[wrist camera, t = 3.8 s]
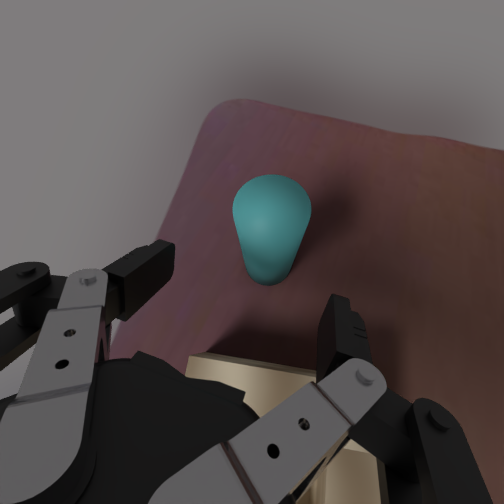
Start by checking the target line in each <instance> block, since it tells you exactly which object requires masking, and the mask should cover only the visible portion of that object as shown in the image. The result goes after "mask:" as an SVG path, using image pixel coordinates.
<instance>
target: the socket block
mask: <svg viewBox="0 0 504 504" xmlns="http://www.w3.org/2000/svg"><path fill="white" fill-rule="evenodd" d="M185 376H186V377H189V378H197V379H205V380H213V381H219V382H222V383H224V384H227V385H229V386H232V387H235V388H237V389H240V390H243V391H245V392H246V393H245V397H244V400H243V402H245V403H246V404H247V405H249V406H250V407H251V408H252V409H253V410H254V411H255V412H256V413H257V415H258V416H259V417H260V418H261V417H262V416H264V415H265V414H266V413H268V412H269V411H270V410H272V409H273V408H275V407H276V406H277V405H279V404H280V403H281V402H283V401H284V400H285V399H287V398H288V397H290V396H291V395H292V394H294V393H295V392H296V391H298V390H299V389H300V388H302V387H303V386H305V385H306V384H307V383H309V382H311V381H314V382H315V383H316V371H315V370H309V369H303V368H297V367H291V366H285V365H280V364H274V363H268V362H262V361H256V360H250V359H244V358H238V357H232V356H226V355H220V354H215V353H209V352H203V353H198V354H194V355H189V359H188V364H187V369H186V373H185ZM296 504H381V499H380V490H379V480H378V471H377V461H376V457H375V456H373V455H372V454H371V453H369V452H368V451H367V450H365V449H364V448H363V447H361V446H360V445H359V444H357V443H356V442H355V441H353V440H352V439H351V440H350V441H349V442H348V444H347V445H346V446H345V447H344V448H343V449H342V450H341V451H340V453H339V454H338V455H337V456H336V457H335V458H334V459H333V461H332V462H331V463H330V464H329V465H328V466H327V467H326V468H325V470H324V471H323V472H322V473H321V474H320V475H319V477H318V478H317V479H316V481H315V482H314V483H313V484H312V486H311V487H310V488H309V489H308V491H307V492H306V493H305V494H304V495H303V496H302V498H301V499H300V500H299V501H298V502H297V503H296Z"/></svg>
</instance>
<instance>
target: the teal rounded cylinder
mask: <svg viewBox="0 0 504 504" xmlns="http://www.w3.org/2000/svg"><path fill="white" fill-rule="evenodd" d="M310 216H311V203H310V199H309V197H308V195H307V193H306V191H305V190H304V189H303V188H302V187H301V186H300V185H299V184H298V183H297V182H295V181H294V180H292V179H290V178H288V177H285V176H281V175H263V176H259V177H256V178H254V179H252V180H250V181H248V182H247V183H246V184H244V185H243V186H242V187H241V189H240V190H239V191H238V193H237V194H236V197H235V199H234V202H233V217H234V221H235V225H236V229H237V233H238V237H239V241H240V245H241V250H242V254H243V258H244V262H245V266H246V270H247V272H248V274H249V276H250V277H251V278H252V279H253V280H254V281H255V282H257V283H259V284H261V285H267V286H270V285H275V284H278V283H280V282H282V281H283V280H284V279H285V278H286V277H287V276H288V274H289V272H290V269H291V267H292V264H293V261H294V259H295V256H296V254H297V251H298V249H299V246H300V243H301V241H302V238H303V236H304V233H305V230H306V228H307V225H308V223H309V220H310Z"/></svg>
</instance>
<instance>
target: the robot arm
mask: <svg viewBox="0 0 504 504" xmlns="http://www.w3.org/2000/svg"><path fill="white" fill-rule="evenodd" d="M174 259H175V245H174V244H173V243H170V242H167V241H164V240H161V239H159V240H157V241H155V242H154V243H152V244H151V245H149V246H147V245H146V246H143V247H139V248H136V249H134V250H133V251H131V252H129V254H126V255H125V256H123V257H122V258H120V259H118V260H116V261H115V262H113V263H111V264H110V265H108V266H106V267H105V268H103V269H102V270H99V269H83V270H79V271H76V272H74V273H72V274H71V275H69V277H65V276H56V275H50V270H49V267H48V265H46V264H44V263H41V262H24V263H19V264H16V265H13V266H10V267H8V268H6V269H4V270H2V271H0V314H1V313H2V312H4V311H6V310H7V309H9V308H11V307H12V308H13V311H14V314H15V316H14V317H13V318H11V319H9V320H8V321H6V322H5V323H3V324H2V325H0V371H1V370H3V369H4V368H5V367H6V366H8V365H9V364H10V363H12V362H13V361H14V360H15V359H16V358H18V357H19V356H20V355H22V354H23V353H24V352H25V351H27V350H28V349H29V348H31V347H32V346H33V345H34V344H36V346H35V349H34V351H33V354H32V357H31V359H30V362H29V365H28V367H27V370H26V373H25V375H24V378H23V381H22V384H21V386H20V389H19V392H18V393H17V394H14V395H12V396H9V397H7V398H4V399H1V400H0V504H296V503H297V502H298V501H299V500H300V499H301V498H302V496H303V495H304V494H305V493H306V492H307V491H308V489H309V488H310V487H311V486H312V484H313V483H314V482H315V481H316V479H317V478H318V477H319V475H320V474H321V473H322V472H323V471H324V470H325V468H326V467H327V466H328V465H329V464H330V463H331V462H332V461H333V459H334V458H335V457H336V456H337V455H338V454H339V453H340V451H341V450H342V449H343V448H344V447H345V446H346V445H347V444H348V442H349V441H350V440H351V439H352V440H353V441H355V442H356V443H357V444H359V445H360V446H361V447H363V448H364V449H365V450H367V451H368V452H369V453H371V454H372V455H373V456H375V457H376V461H377V471H378V480H379V490H380V499H381V504H493V502H492V500H491V497H490V495H489V493H488V490H487V488H486V485H485V483H484V480H483V478H482V476H481V473H480V471H479V468H478V466H477V463H476V461H475V459H474V456H473V454H472V451H471V449H470V446H469V444H468V442H467V439H466V437H465V434H464V432H463V430H462V428H461V426H460V424H459V423H458V421H457V420H456V419H455V418H454V416H453V415H452V414H451V413H450V412H449V411H447V410H446V409H445V408H444V407H442V406H441V405H440V404H438V403H436V402H434V401H432V400H429V399H425V398H419V399H417V400H415V402H414V403H413V404H412V403H410V402H409V401H407V400H406V399H404V398H402V397H401V396H399V395H398V394H396V393H394V392H393V391H391V390H390V389H389V388H388V387H387V384H386V381H385V378H384V377H383V375H382V374H381V372H380V371H379V370H378V369H377V368H376V367H375V366H373V363H372V358H371V353H370V348H369V344H368V340H367V334H366V332H365V331H366V329H365V324H364V321H363V320H362V318H361V317H360V315H359V314H358V313H357V312H354V311H351V308H350V302H349V299H348V298H345V297H342V296H339V295H335V294H332V295H331V296H330V298H329V301H328V303H327V305H326V308H325V310H324V312H323V315H322V317H321V319H320V323H319V327H318V337H317V366H316V383H315V382H314V381H311V382H309V383H307V384H306V385H305V386H303V387H302V388H300V389H299V390H298V391H296V392H295V393H294V394H292V395H291V396H290V397H288V398H287V399H285V400H284V401H283V402H281V403H280V404H279V405H277V406H276V407H275V408H273V409H272V410H270V411H269V412H268V413H266V414H265V415H264V416H262V417H261V418H260V417H259V416H258V415H257V413H256V412H255V411H254V410H253V409H252V408H251V407H250V406H249V405H247V404H246V403H245V402H243V400H244V397H245V393H246V392H245V391H243V390H240V389H237V388H235V387H232V386H229V385H227V384H224V383H222V382H219V381H213V380H205V379H197V378H189V377H186V376H184V375H183V374H182V373H180V372H179V371H177V370H176V369H175V368H173V367H172V366H171V365H169V364H168V363H167V362H165V361H164V360H162V359H159V358H156V357H154V356H151V355H149V354H146V353H143V352H141V351H137V353H136V354H135V355H134V356H133V357H132V358H131V359H130V358H120V359H111V360H109V354H110V342H111V329H112V326H111V322H112V321H113V320H114V319H115V318H117V319H120V320H122V321H125V322H126V321H127V320H128V319H129V318H130V317H131V316H132V315H133V314H135V313H136V312H137V311H138V310H139V309H140V308H141V307H142V306H143V305H144V304H145V303H146V302H147V301H148V300H149V299H150V298H151V297H152V296H154V295H155V294H156V293H157V292H158V291H159V290H160V289H161V288H162V287H163V286H164V285H165V284H166V283H167V282H168V281H169V280H170V279H171V277H172V275H173V271H174Z"/></svg>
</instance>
